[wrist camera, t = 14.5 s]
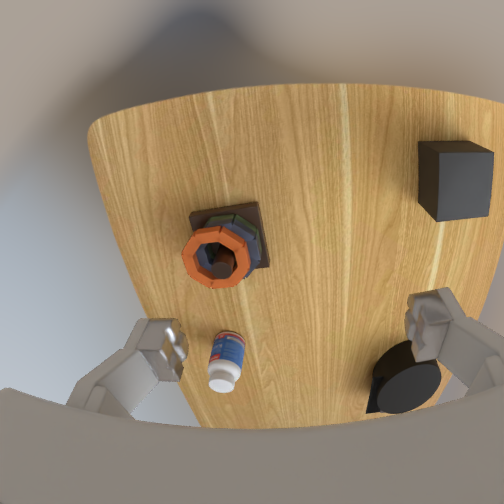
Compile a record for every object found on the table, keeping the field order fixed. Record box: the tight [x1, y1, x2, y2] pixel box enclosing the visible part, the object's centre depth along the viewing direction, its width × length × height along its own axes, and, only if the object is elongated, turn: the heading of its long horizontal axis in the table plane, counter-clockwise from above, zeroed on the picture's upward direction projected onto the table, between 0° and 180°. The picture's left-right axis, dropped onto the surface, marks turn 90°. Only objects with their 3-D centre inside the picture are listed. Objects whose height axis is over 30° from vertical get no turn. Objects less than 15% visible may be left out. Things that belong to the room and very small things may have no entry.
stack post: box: [189, 202, 270, 279], centre depth 38 cm, size 9×9×8 cm
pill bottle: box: [208, 332, 245, 393], centre depth 48 cm, size 6×5×10 cm
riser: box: [418, 141, 494, 222], centre depth 31 cm, size 8×8×6 cm
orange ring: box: [181, 226, 251, 289], centre depth 38 cm, size 8×8×1 cm
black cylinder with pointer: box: [366, 340, 441, 414], centre depth 51 cm, size 14×18×8 cm
